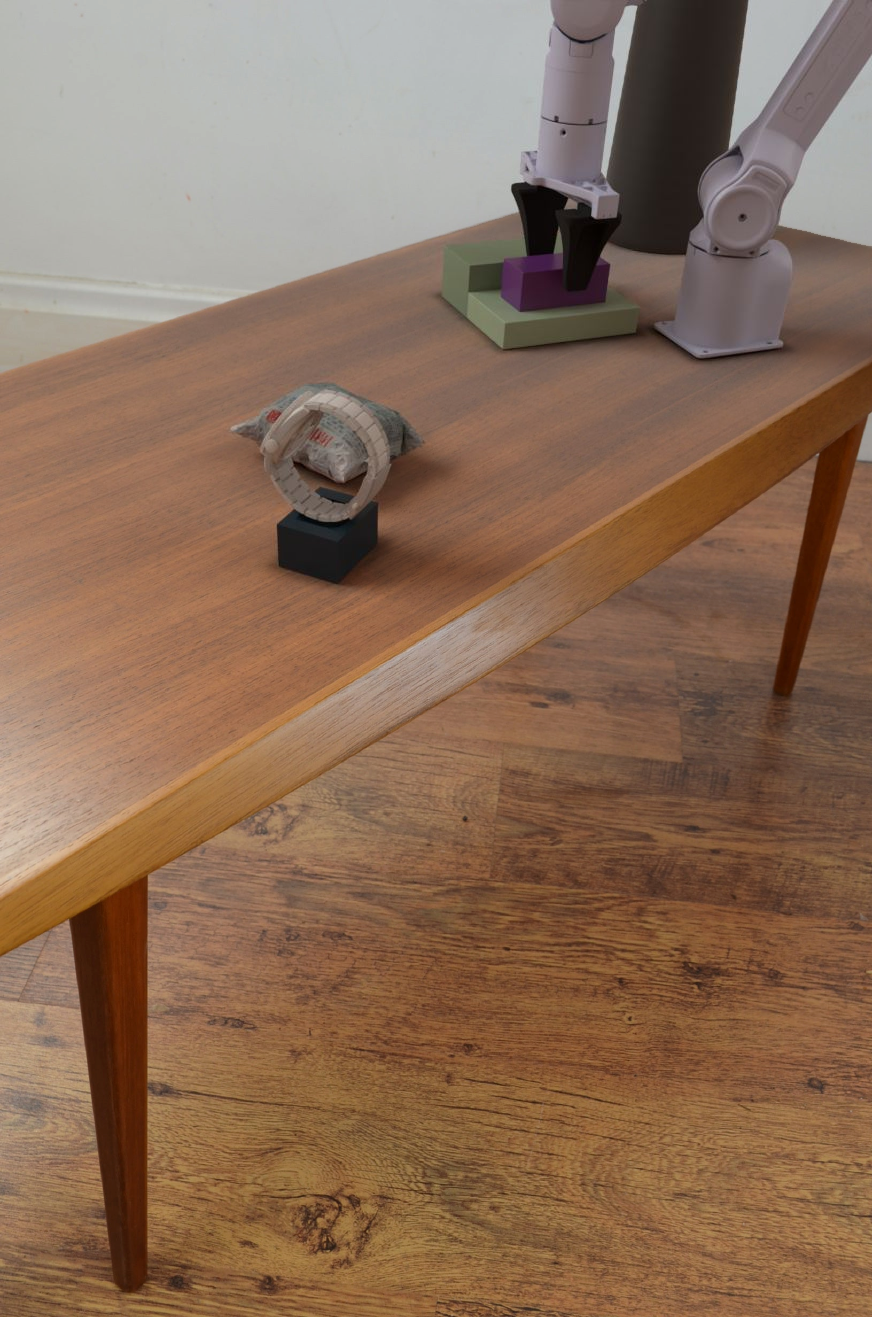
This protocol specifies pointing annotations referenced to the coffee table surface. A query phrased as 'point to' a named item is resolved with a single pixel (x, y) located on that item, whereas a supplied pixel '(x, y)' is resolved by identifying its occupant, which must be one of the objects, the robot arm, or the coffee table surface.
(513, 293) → the purple rectangular block
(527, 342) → the step shelf
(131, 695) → the coffee table surface
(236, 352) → the coffee table surface
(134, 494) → the coffee table surface
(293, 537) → the watch
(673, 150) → the vase
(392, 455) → the packaged food
